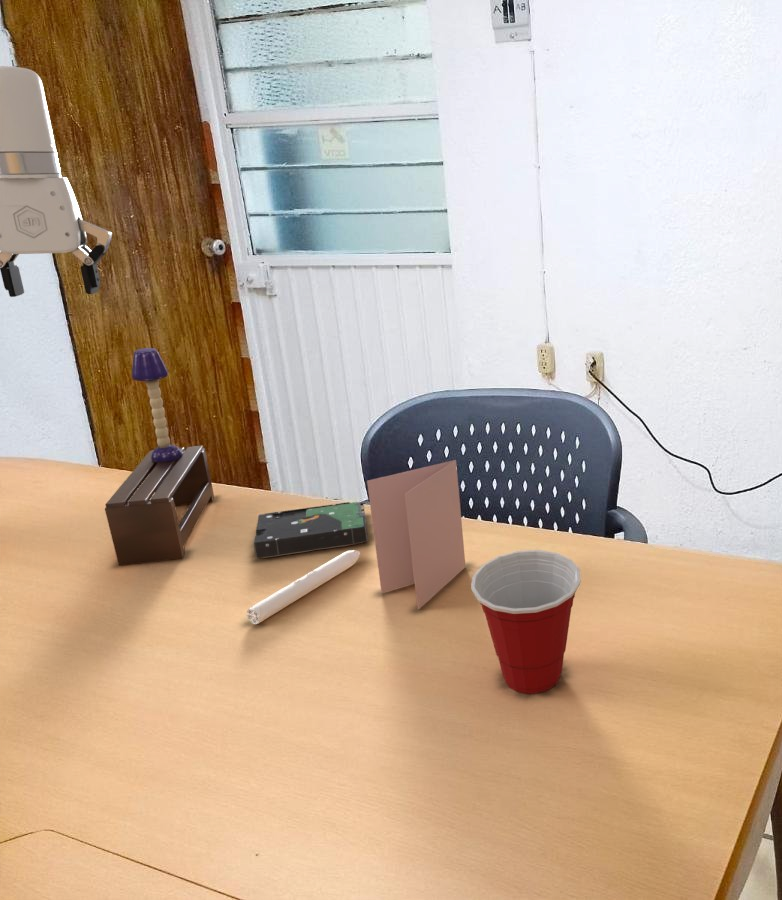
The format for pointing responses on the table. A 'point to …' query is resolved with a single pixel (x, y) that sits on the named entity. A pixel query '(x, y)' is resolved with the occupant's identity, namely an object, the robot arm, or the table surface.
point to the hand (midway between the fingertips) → (55, 294)
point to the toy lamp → (155, 400)
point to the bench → (159, 507)
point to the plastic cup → (528, 614)
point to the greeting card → (418, 529)
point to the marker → (301, 587)
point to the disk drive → (310, 529)
